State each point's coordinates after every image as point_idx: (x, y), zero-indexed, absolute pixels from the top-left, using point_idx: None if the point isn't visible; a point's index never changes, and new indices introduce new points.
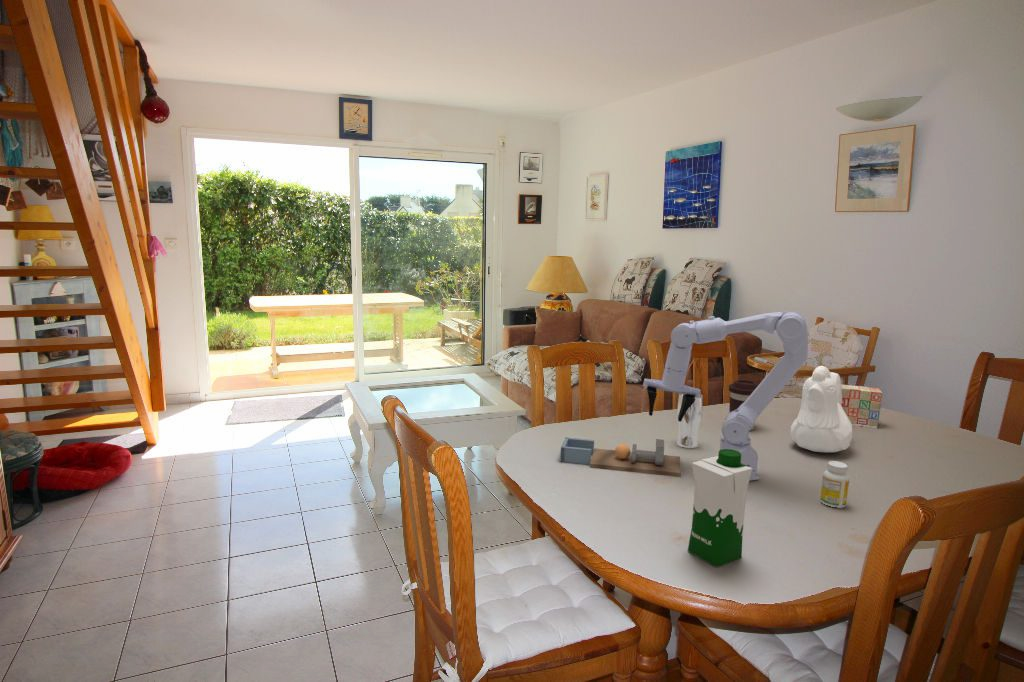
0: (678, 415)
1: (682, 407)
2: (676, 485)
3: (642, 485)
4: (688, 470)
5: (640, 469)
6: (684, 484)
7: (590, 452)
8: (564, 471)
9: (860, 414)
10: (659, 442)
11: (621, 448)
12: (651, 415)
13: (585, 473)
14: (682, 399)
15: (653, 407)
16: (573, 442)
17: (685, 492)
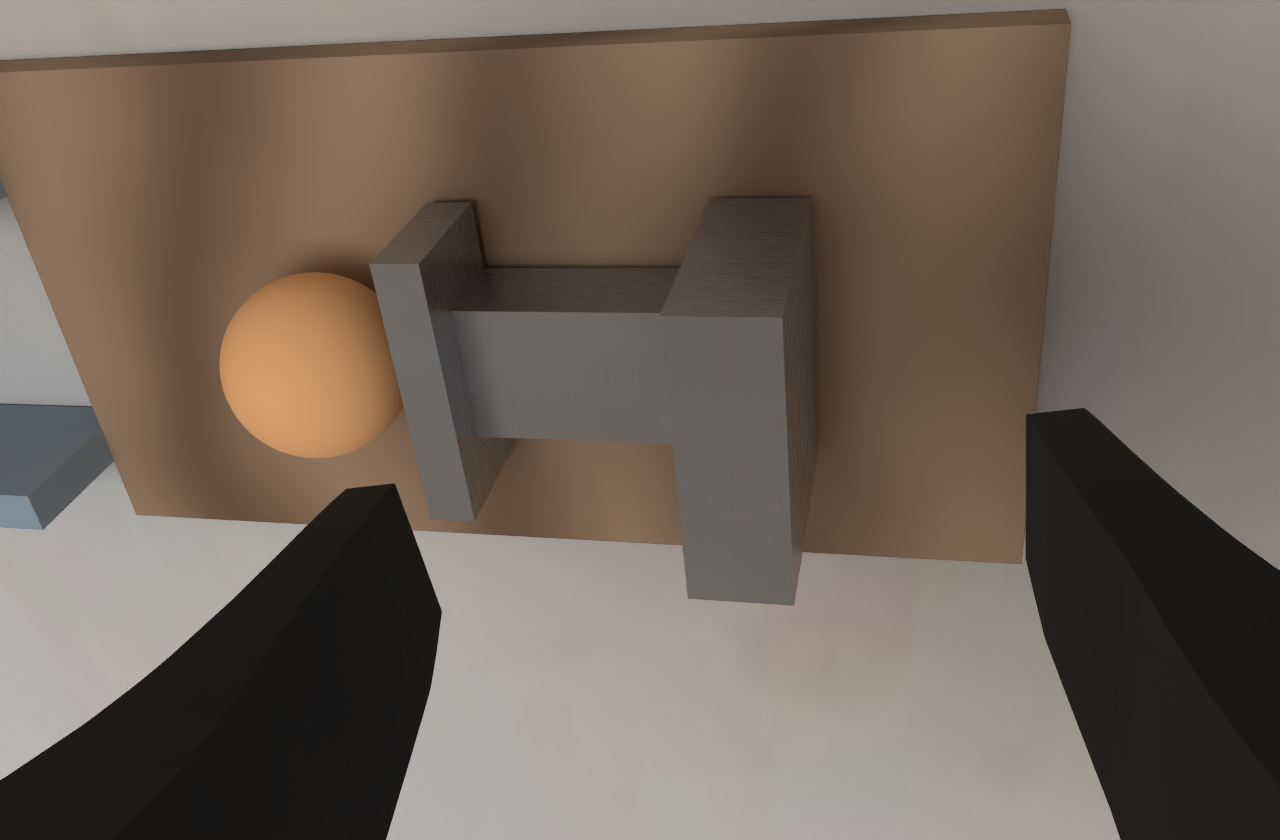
0: (1045, 452)
1: (1141, 832)
2: (952, 711)
3: (660, 743)
4: (1139, 350)
5: (595, 533)
6: (1032, 685)
7: (54, 514)
8: (36, 603)
9: None
10: (720, 450)
11: (293, 453)
12: (430, 621)
13: (186, 611)
14: (1227, 732)
15: (394, 808)
16: None
17: (1020, 813)
